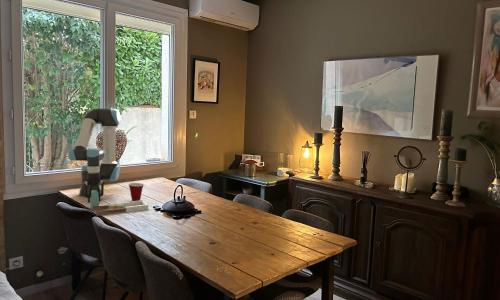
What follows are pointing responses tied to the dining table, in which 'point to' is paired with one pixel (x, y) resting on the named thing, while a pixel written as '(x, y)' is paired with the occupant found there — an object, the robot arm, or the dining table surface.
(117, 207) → the cube
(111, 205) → the cube
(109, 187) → the dining table surface
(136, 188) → the plastic cup
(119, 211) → the channel board
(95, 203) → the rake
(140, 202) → the tray
